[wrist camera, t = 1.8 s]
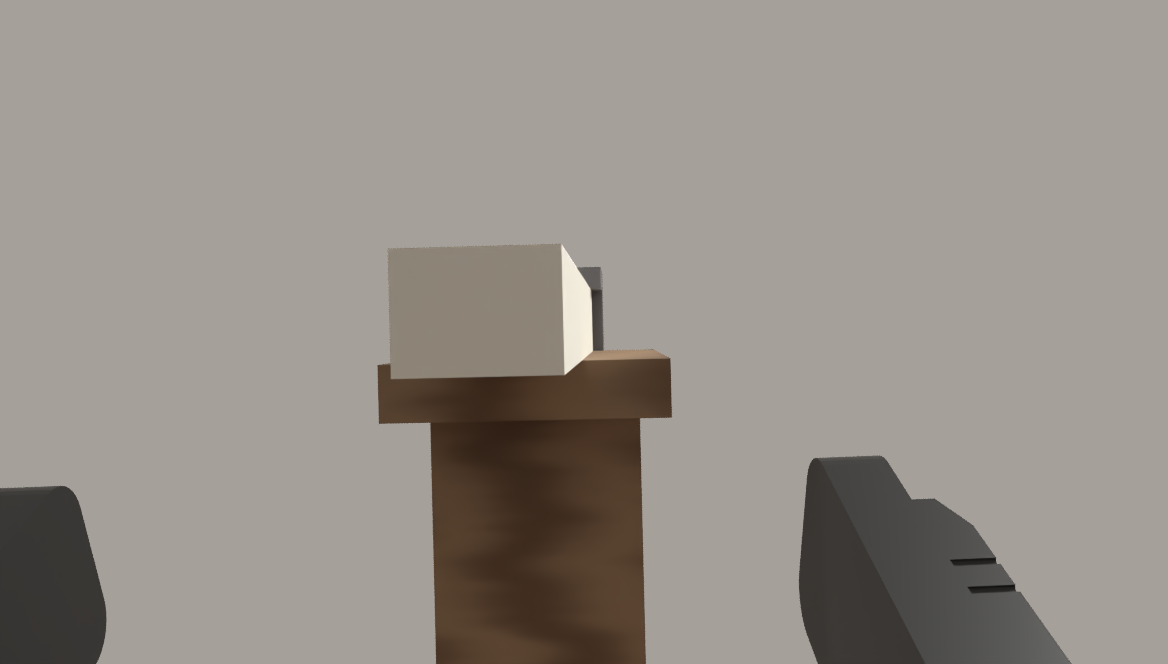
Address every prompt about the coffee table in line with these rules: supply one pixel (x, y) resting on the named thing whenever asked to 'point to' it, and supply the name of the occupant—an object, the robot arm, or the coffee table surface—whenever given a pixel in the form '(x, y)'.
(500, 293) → the white bar
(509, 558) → the wooden pedestal post
